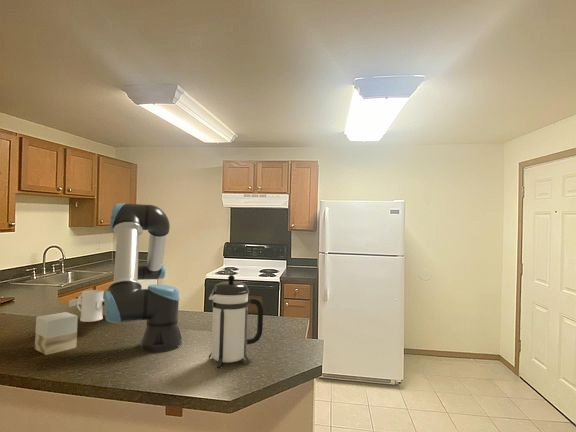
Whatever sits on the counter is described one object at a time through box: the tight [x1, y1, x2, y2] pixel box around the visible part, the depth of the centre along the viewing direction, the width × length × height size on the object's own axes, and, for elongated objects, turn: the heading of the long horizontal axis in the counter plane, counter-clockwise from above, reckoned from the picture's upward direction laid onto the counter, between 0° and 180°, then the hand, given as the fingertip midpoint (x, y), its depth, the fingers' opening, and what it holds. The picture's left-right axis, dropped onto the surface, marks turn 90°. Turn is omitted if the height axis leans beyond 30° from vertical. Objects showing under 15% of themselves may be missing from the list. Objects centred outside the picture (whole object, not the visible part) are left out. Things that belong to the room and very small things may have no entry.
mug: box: [76, 289, 105, 323], centre depth 145 cm, size 12×8×12 cm
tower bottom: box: [34, 331, 78, 356], centre depth 126 cm, size 10×10×6 cm
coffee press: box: [208, 274, 264, 369], centre depth 119 cm, size 17×16×30 cm
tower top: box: [34, 311, 79, 338], centre depth 126 cm, size 10×10×6 cm
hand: (82, 304), depth 142 cm, fingers closed on mug, 11 cm apart
